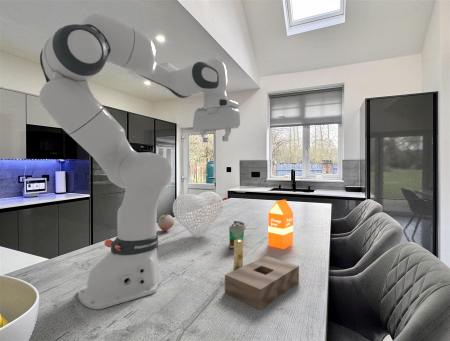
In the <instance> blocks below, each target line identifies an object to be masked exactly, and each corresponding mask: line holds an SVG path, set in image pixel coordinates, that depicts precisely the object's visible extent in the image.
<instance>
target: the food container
mask: <svg viewBox="0 0 450 341" xmlns="http://www.w3.org/2000/svg"><path fill="white" fill-rule="evenodd" d="M228 227H229V228H228V232H229V233H228V234H229V250H230V251H231V250H232V251H234V240H237V239H239V240H243V241H244V237H245V236H244V234H245V231H246V224H245V222H243V221H240V220H233V223H232V224H231V226H228Z"/></svg>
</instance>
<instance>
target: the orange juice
mask: <svg viewBox="0 0 450 341" xmlns="http://www.w3.org/2000/svg"><path fill="white" fill-rule="evenodd" d="M267 224H268V228H267V231H268V234H267V235H268V238H267V239H268V242H267V244H268V246H270V247H273V248H279V249H281V250H284V249H285V250H286V248H289V247H291V246H293V245H294V212H293V210H292V208H291V207H290V205H289V203H288V201H287V199H281V200H276V201H275V202H274V203H273V205H272V206H271V209H269V211H268V223H267Z"/></svg>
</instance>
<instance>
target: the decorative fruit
mask: <svg viewBox="0 0 450 341" xmlns="http://www.w3.org/2000/svg"><path fill="white" fill-rule="evenodd" d="M174 224H175V219H174V217H173V216H172V215H171V214H169V213H166V212H165V214H164V215H161V216H160V217H159V218H157V226H158V228H159V229H160V230H161V231H163V232H167V231H169V230H170V229H172V228H173V227H174Z"/></svg>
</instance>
